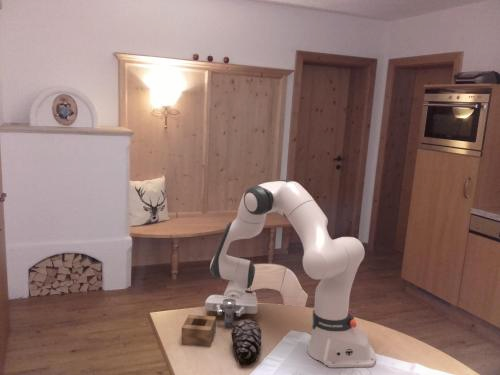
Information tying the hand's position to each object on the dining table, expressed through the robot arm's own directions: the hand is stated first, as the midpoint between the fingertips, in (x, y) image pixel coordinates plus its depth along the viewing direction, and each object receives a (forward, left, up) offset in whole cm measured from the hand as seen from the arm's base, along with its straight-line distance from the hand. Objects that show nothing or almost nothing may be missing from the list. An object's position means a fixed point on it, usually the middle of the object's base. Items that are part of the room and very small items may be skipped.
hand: (228, 313), depth 165 cm
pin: (0, -1, -6) cm, 6 cm away
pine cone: (-9, +16, -6) cm, 20 cm away
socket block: (+9, +9, -6) cm, 14 cm away
